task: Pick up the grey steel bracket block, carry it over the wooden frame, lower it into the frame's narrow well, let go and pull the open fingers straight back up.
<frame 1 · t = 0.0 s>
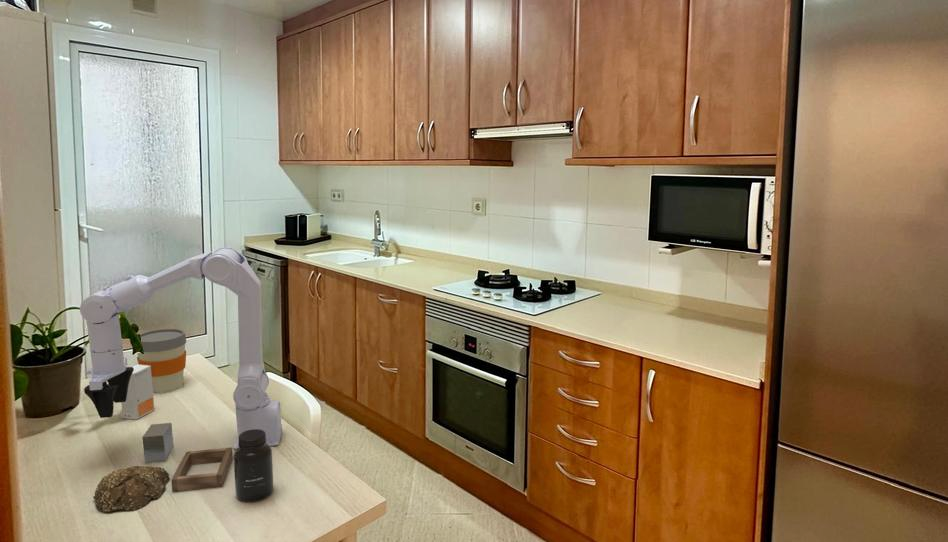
hand: (113, 409, 122), 10 cm above the table, tool pointing down, fingers open, 7 cm apart
bread roll: (132, 496, 109), on the table
wooden frame: (204, 474, 116), on the table
supplement bottle: (255, 493, 109), on the table
skincare box: (139, 415, 142), on the table
reusable coffee cup: (165, 387, 160), on the table
steel bracket block: (159, 455, 123), on the table
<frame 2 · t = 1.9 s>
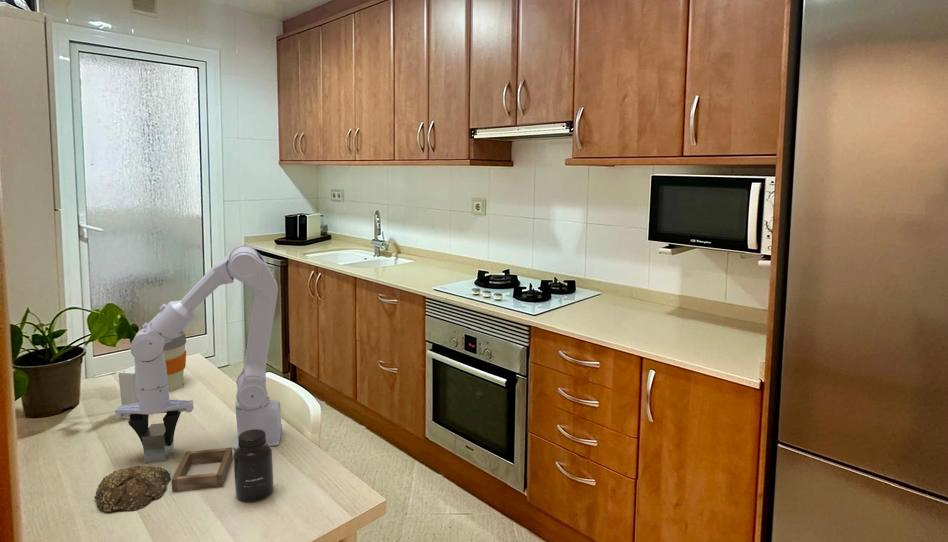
hand: (158, 444, 122), 2 cm above the table, tool pointing down, fingers closed on steel bracket block, 4 cm apart
steel bracket block: (159, 455, 123), on the table, touching gripper
everything else where it was.
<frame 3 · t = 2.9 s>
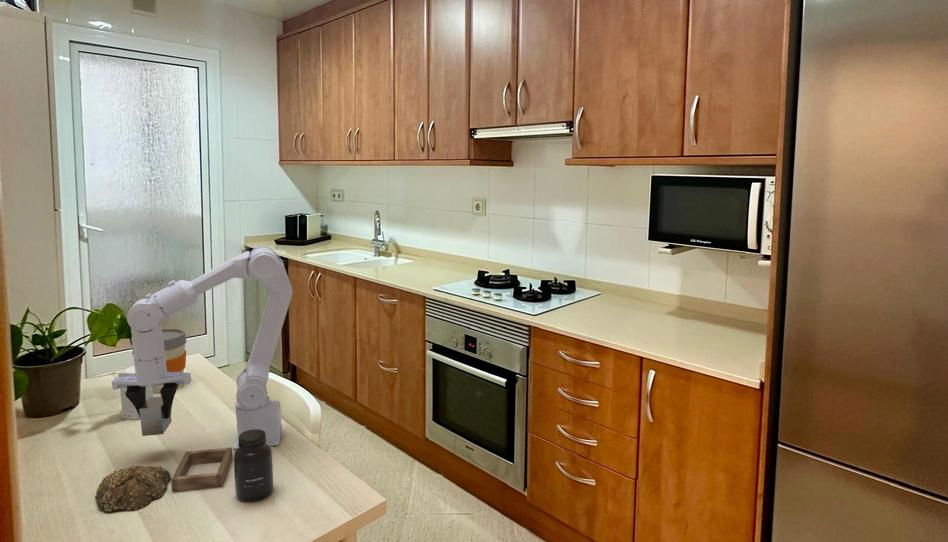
hand: (156, 417, 121), 9 cm above the table, tool pointing down, fingers closed on steel bracket block, 4 cm apart
steel bracket block: (157, 428, 122), point 6 cm above the table, touching gripper
everything else where it was.
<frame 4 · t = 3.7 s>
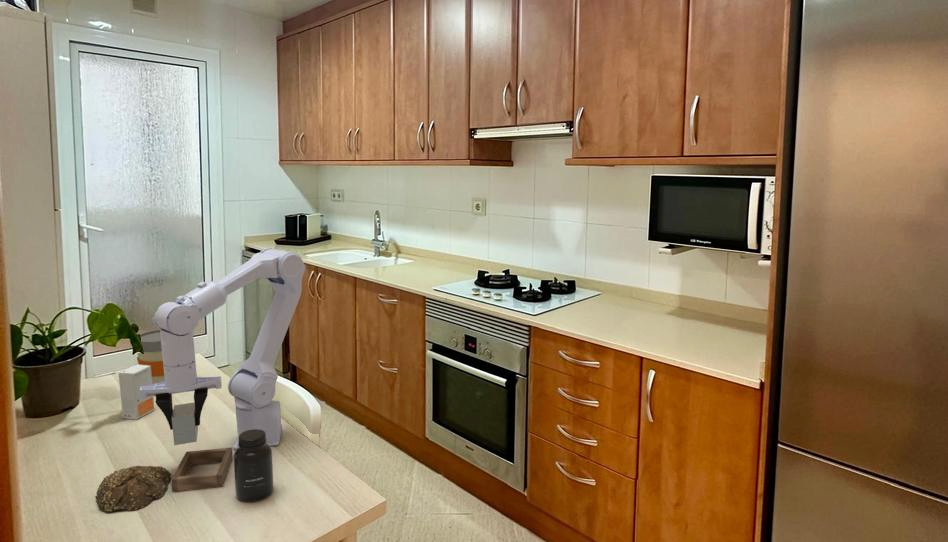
hand: (185, 425, 116), 9 cm above the table, tool pointing down, fingers closed on steel bracket block, 4 cm apart
steel bracket block: (186, 436, 117), point 7 cm above the table, touching gripper
everything else where it was.
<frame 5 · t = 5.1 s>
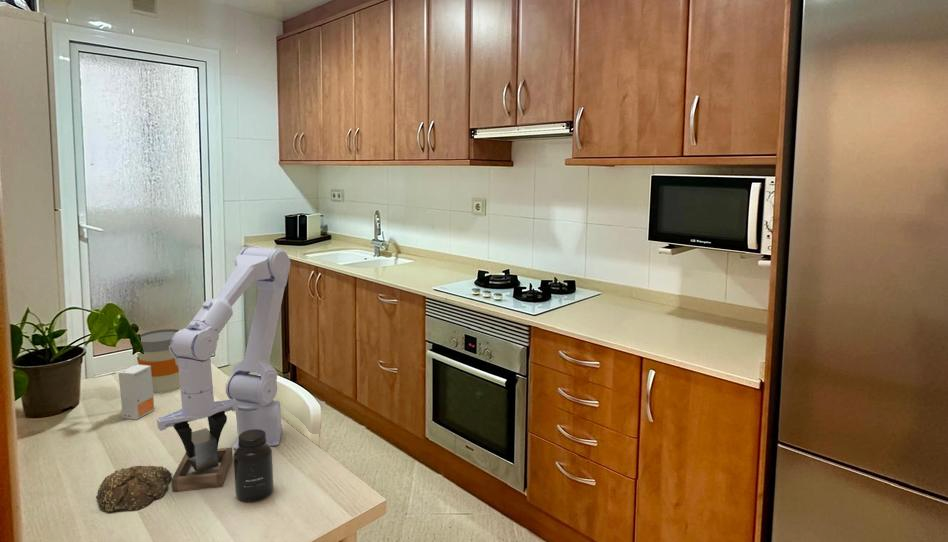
hand: (202, 452, 115), 5 cm above the table, tool pointing down, fingers closed on steel bracket block, 4 cm apart
steel bracket block: (203, 463, 115), point 2 cm above the table, touching gripper
everything else where it was.
when the fingers open (3 cm above the table, at t = 5.9 s): steel bracket block stays where it is, resting in wooden frame.
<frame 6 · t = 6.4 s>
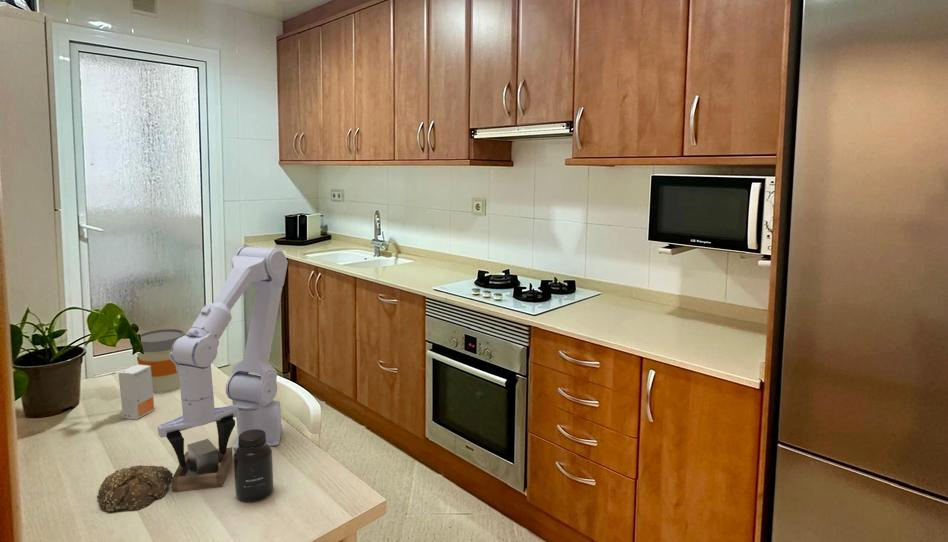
hand: (202, 458, 115), 3 cm above the table, tool pointing down, fingers open, 7 cm apart
steel bracket block: (204, 474, 116), resting in wooden frame
everything else where it was.
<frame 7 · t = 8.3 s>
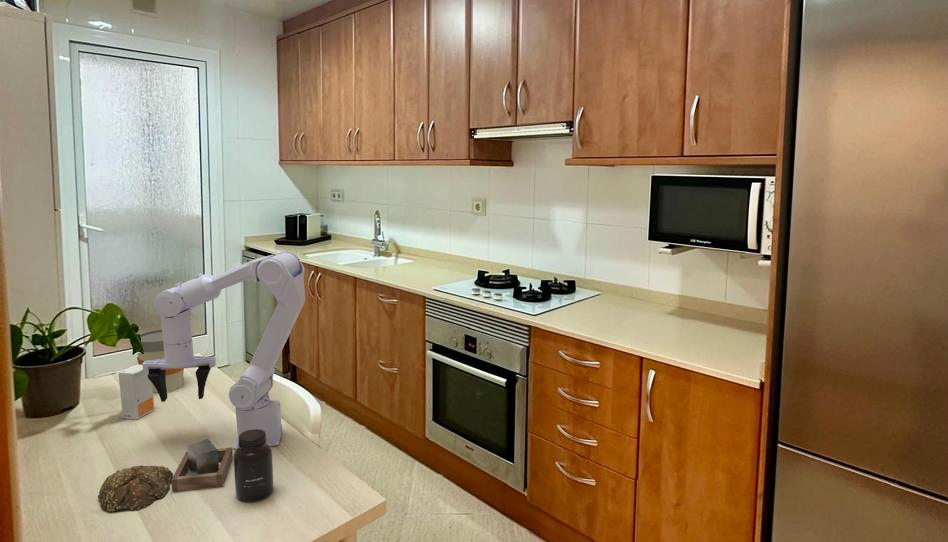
hand: (182, 398, 129), 9 cm above the table, tool pointing down, fingers open, 7 cm apart
nothing on the table moved.
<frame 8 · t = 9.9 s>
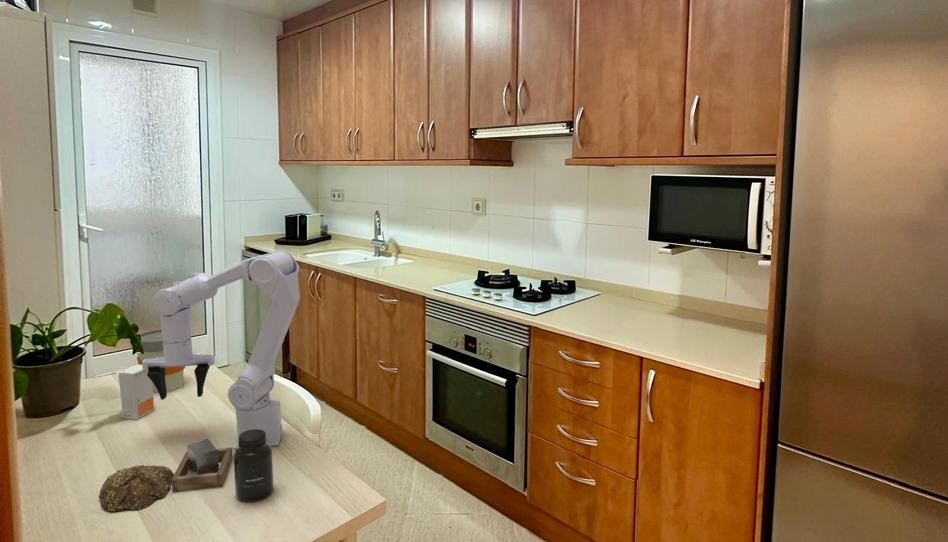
hand: (182, 396, 130), 9 cm above the table, tool pointing down, fingers open, 7 cm apart
nothing on the table moved.
at the end: steel bracket block 0.0 cm off-centre on the wooden frame, point 0.0 cm above the wooden frame's base; steel bracket block tilted 0°; the gripper is holding nothing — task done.
